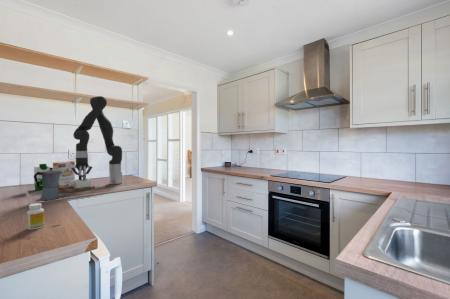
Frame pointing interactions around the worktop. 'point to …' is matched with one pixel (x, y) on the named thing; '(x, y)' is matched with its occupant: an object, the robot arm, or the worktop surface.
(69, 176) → the cracker box
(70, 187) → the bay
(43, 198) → the moka pot
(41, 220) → the supplement bottle
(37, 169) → the milk carton
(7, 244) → the worktop surface
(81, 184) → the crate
